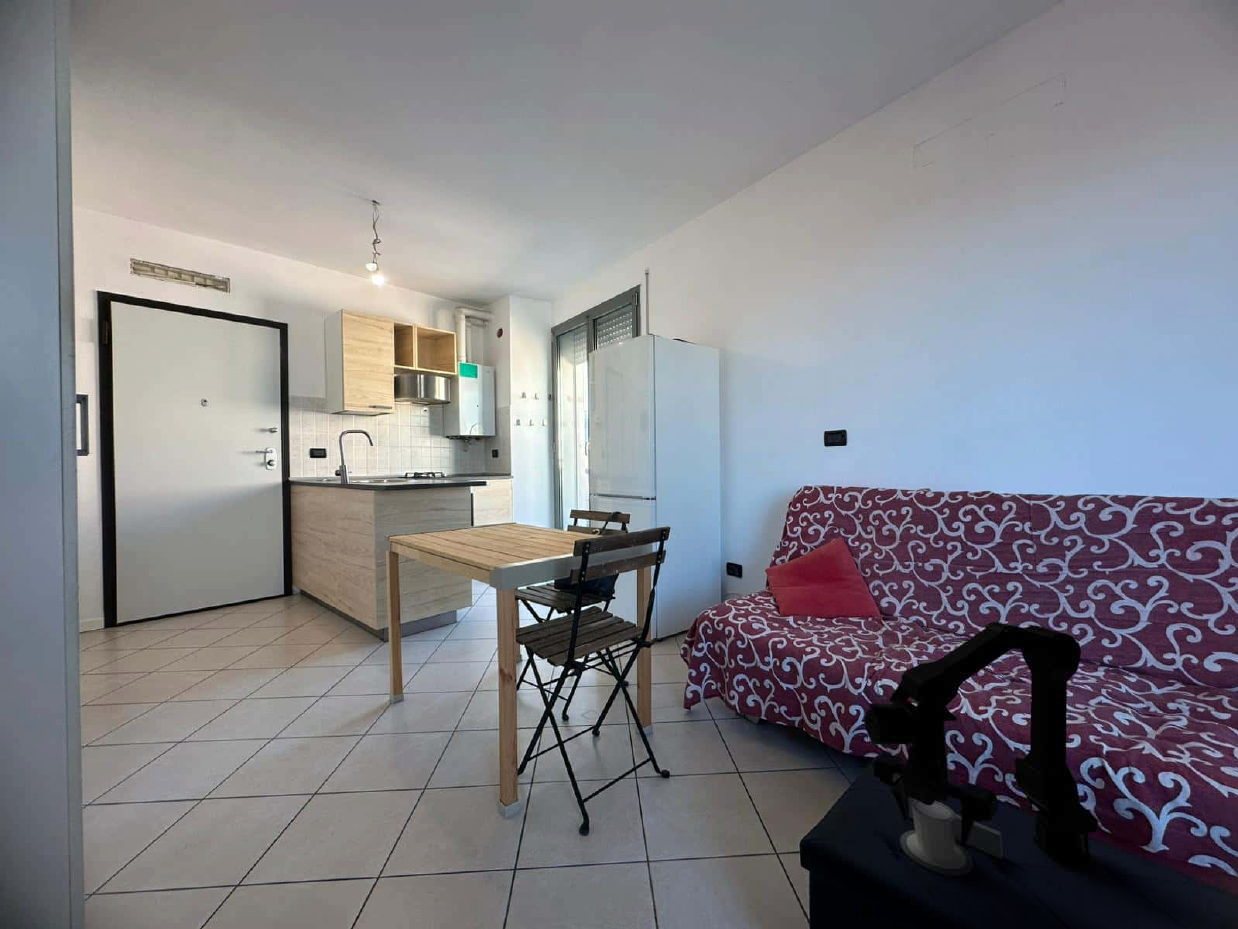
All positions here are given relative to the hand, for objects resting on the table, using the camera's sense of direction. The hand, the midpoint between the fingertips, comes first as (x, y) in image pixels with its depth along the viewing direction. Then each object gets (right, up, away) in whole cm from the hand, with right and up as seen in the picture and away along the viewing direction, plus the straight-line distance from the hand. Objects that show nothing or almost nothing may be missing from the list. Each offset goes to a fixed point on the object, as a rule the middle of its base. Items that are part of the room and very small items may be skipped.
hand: (934, 832), depth 86 cm
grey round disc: (0, -4, 0) cm, 4 cm away
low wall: (+6, -4, +4) cm, 8 cm away
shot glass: (0, -3, 0) cm, 3 cm away
